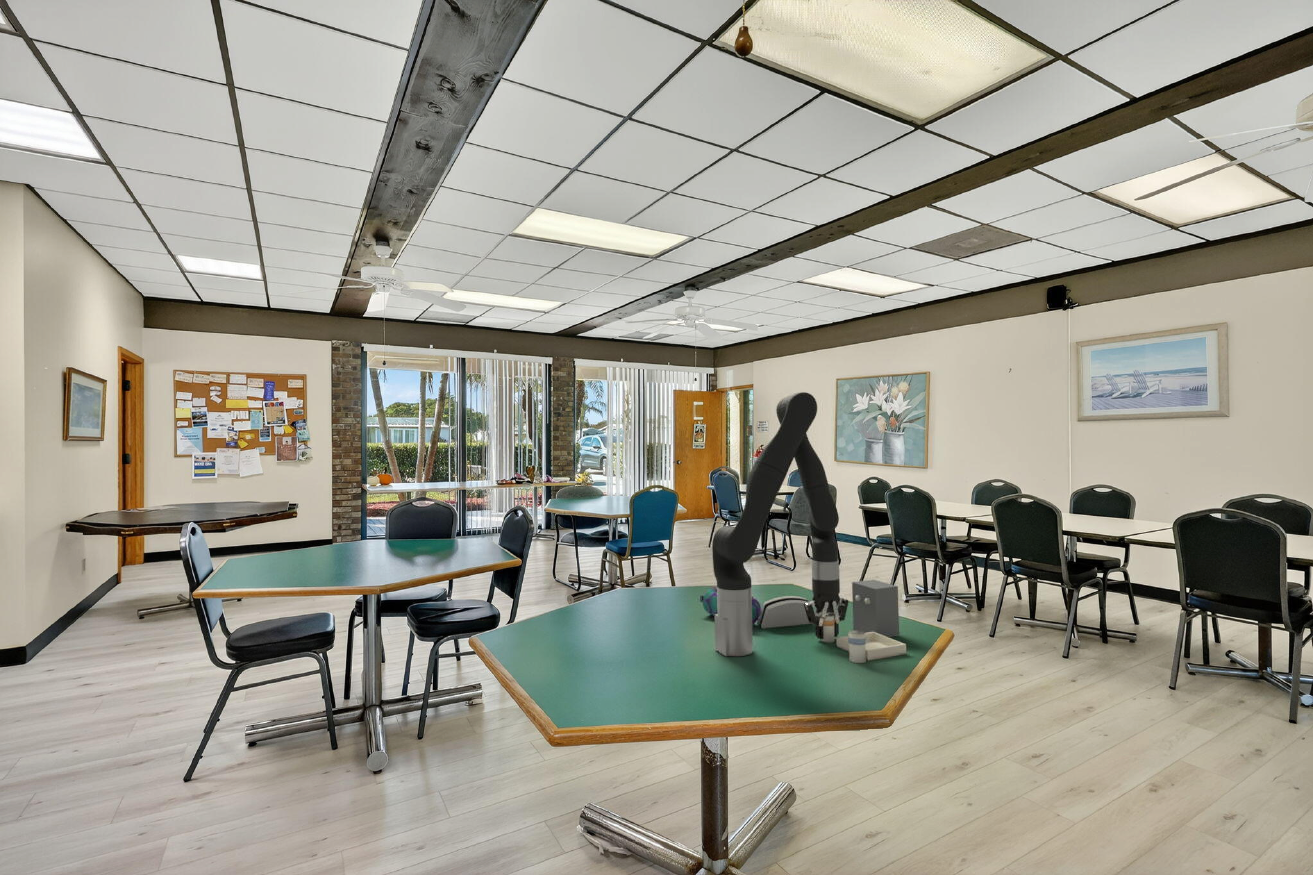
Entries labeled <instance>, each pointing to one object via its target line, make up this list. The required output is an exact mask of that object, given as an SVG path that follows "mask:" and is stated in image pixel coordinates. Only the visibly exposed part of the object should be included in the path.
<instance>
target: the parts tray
mask: <svg viewBox="0 0 1313 875" xmlns="http://www.w3.org/2000/svg"><path fill="white" fill-rule="evenodd" d="M848 636H849V634H847V635H844V636H843V635H842V636H837V637H836V647H837V648H838V649H841V650H843V651H846V652H848V653H849V642H848ZM865 637H866V662H867V661H874V660H880V659H886V658H892V657H898V656H903V655H907V644H906V643H904V642H901V641H899V640H896V639H893V638H892V637H886V636H883V635H881V634H878V633H875V632H868V633H865Z"/></svg>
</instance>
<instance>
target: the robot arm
mask: <svg viewBox="0 0 1313 875" xmlns="http://www.w3.org/2000/svg"><path fill="white" fill-rule="evenodd" d="M816 400H817V399H816V398H815V397H814V396H813V394H811V393H809V392H805V391H801V392H796V393H793V394H790V395H787V396H785V397H782V399H780V400H779V401H778V402H777V406H776V410H775V413H776V416H777V419H778V422H779V424H780V426H779V428H778V430H777V432H775V435H773V437H772V439H771V440H770V441H769V442H768V443H767V445H766V446H765V447H764V448H763V449H762V450H761V452H760V453H759V455H758V456H757V458H756V459H755V461H754V463H753V466H752V468H751V470H750V472H749V474H748V476H747V480H746V485H745V486H746V487H745V503H744V507H743V511H742V513H741V515H740V518H739V519H738V521H737V523H736V525H735V526H734V525H724V526H721V527H719V528H718V529H717V530H716V531H715V533H714V535H713V538H712V548H711V549H712V550H711V551H712V566H713V575H714V577H715V580H716V586H717V610H718V614H715V616H714V646H715V647H714V648H715V649H716V652H718V651H719V652H718V653H720V654H721V655H723V656H724V657H743V656H744V657H745V656H748V655H751V654H752V653H753V651H754V649H753V648H754V641H753V634H754V633H753V626H752V596H753V595H752V592H753V591H752V577H751V575H750V573H748V572H747V570H746V567H745V565H744V563H747V562H748V561H750V560H751V558H753V555H754V554H755V552H756V550H757V549H758V548H757V547H758V544H759V541H760V539H761V535H762V532H763V529H764V526H765V524H766V521H767V519H768V516H769V514H770V512H771V509H772V507H773V506H774V502H775V500H776V498H777V495H778V494H779V492H780V491H781V488H782V485H783V483H784V481H785V479H786V477H787V474H788V472H789V470H790V468H791V465H792V462H794V461H795V465H796V467H797V470H798V473H799V474H798V475H799V477H800V481H801V482H800V483H801V486H802V488H803V492H804V494H805V497H806V499H807V501H808V504H809V507H810V513H809V525H810V526H809V527H810V534H811V541H812V546H811V547H812V548H811V552H812V553H811V554H812V556H811V558H812V560H811V561H812V563H811V590H812V595H813V597H812V600H811V601H809V603H804V608H805V611H806V614H807V618H808V621H809V622H810V623H812V625H814V632H815V634H814V635H815V637H816V638H817V639H819V640H820V639H823V626H822V625H823V620H824V618H825V616H826V613H829V614H832V615H834V619H835V625H834V635H835V638H837V637H839V636H838V635H839V634H840V633H839V632H840V631H839V630H840V628H839V624H840V622H842V621H845V620H846V615H847V612H848V611H847V609H848V606H849V602H850V601H849V600H848V599H847V598H843V597H841V596H840V595H839V594H840V590H841V587H840V579H841V578H840V566H839V564H840V563H839V546H838V543H837V541H836V537H835V532H836V531H835V530H836V528H837V527H838V526H839V525H838V524H839V520H840V516H839V513H838V509H837V506H836V504H835V501H834V498H833V496H832V493H831V490H830V486H829V485H830V484H829V481H828V478H827V474H826V471H825V467H824V465H823V463H822V461H821V459H820V457H819V456H818V454H817V452H816V451H815V449H814V447H813V446H812V444H811V442H810V440H809V436H808V434H807V432H808V430H809V428H810V427H811V426H812V424H813V423H814V420H815V418H816V417H817V414H818V404H817V403H818V402H817V401H816ZM715 649H714V650H715Z"/></svg>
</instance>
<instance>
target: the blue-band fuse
mask: <svg viewBox="0 0 1313 875" xmlns="http://www.w3.org/2000/svg"><path fill="white" fill-rule="evenodd" d="M848 635H849V636H848ZM848 635H847V636H848V642H849V652H848V655H849V656H848V657H849V661H850V662H852V663H856V664H863V663H866V662H867V660H866V637H865V632H863V631H858V630H849V631H848Z"/></svg>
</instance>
